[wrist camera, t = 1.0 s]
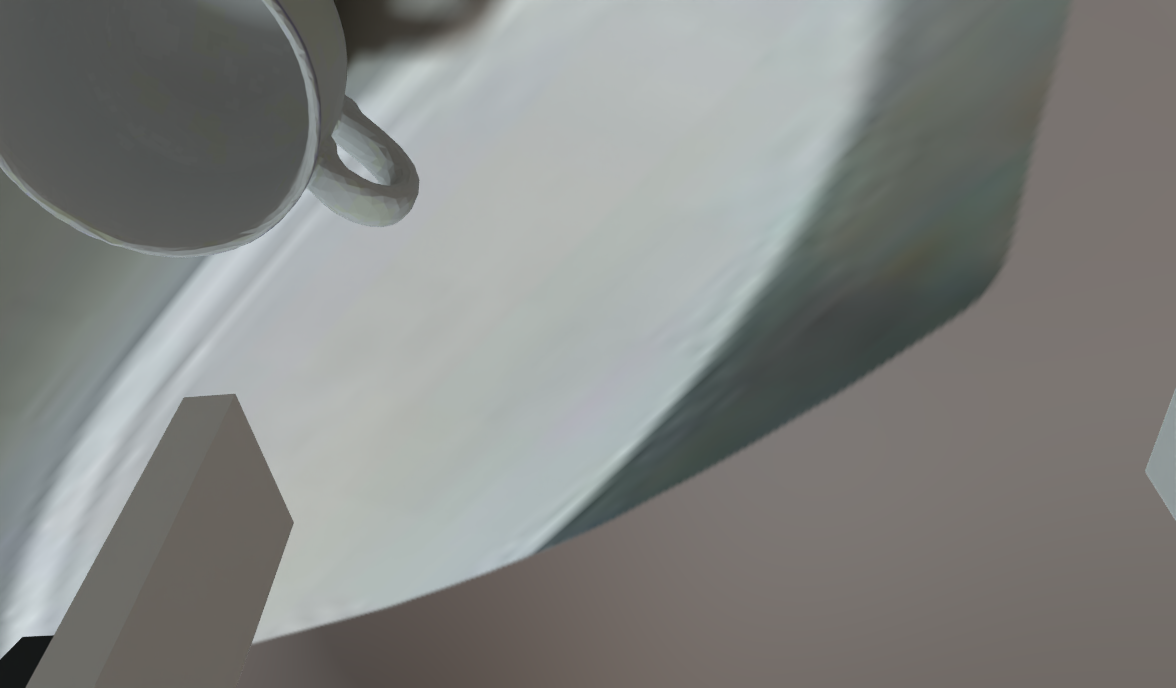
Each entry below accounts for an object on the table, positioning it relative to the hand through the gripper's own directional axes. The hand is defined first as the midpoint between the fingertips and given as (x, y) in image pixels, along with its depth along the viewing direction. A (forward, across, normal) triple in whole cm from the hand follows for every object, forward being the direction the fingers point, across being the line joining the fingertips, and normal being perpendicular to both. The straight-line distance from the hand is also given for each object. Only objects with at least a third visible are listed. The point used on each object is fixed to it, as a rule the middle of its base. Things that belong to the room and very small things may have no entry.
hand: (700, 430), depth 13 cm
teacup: (+24, -14, -2) cm, 28 cm away
